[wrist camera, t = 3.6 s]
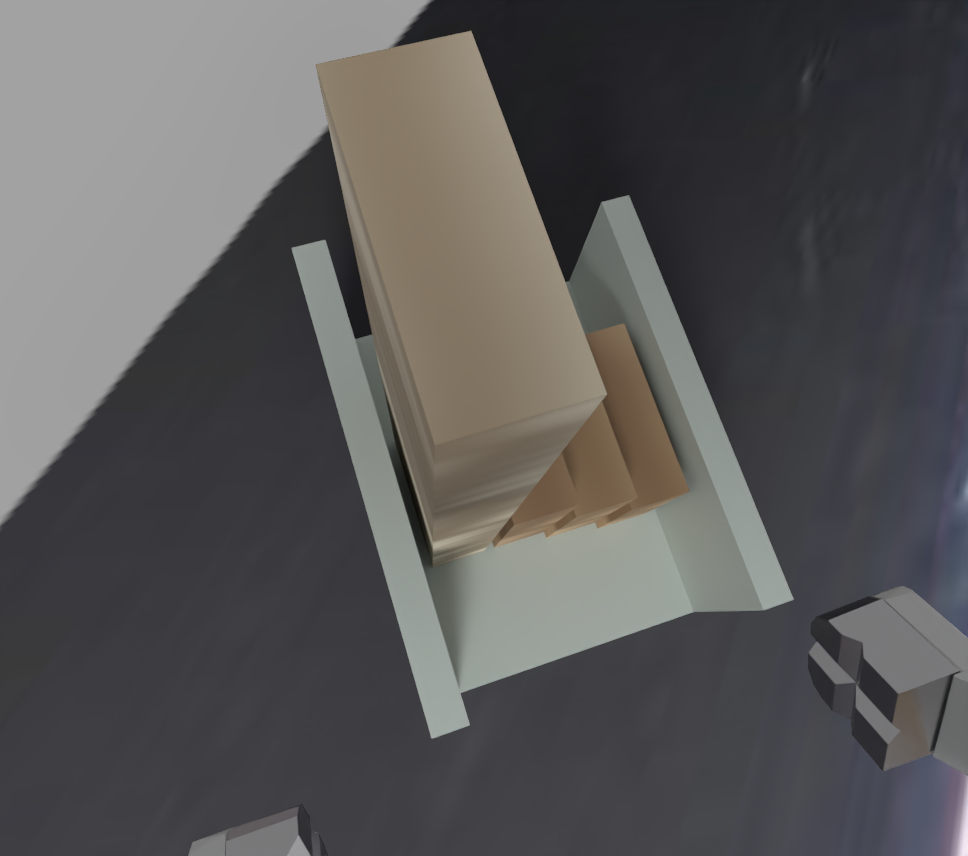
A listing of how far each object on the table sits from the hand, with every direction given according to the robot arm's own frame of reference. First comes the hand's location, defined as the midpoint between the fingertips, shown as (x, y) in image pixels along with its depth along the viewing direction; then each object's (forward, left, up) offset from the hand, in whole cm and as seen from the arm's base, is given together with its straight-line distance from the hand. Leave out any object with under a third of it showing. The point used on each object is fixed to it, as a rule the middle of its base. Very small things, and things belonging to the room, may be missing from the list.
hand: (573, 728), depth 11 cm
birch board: (-1, -6, -16) cm, 17 cm away
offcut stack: (-5, -6, -16) cm, 18 cm away
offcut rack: (-4, -6, -17) cm, 19 cm away
